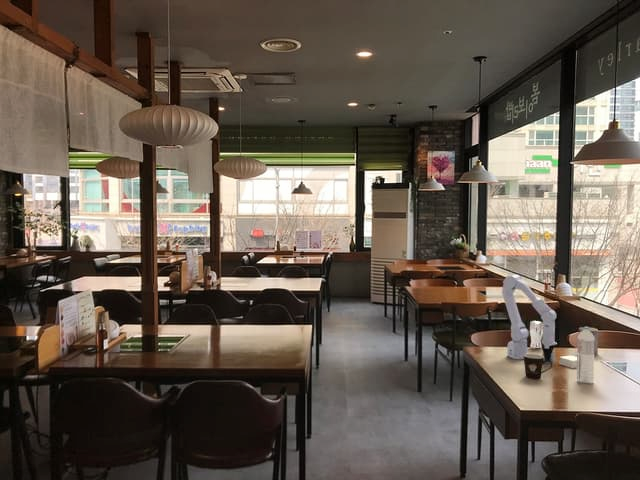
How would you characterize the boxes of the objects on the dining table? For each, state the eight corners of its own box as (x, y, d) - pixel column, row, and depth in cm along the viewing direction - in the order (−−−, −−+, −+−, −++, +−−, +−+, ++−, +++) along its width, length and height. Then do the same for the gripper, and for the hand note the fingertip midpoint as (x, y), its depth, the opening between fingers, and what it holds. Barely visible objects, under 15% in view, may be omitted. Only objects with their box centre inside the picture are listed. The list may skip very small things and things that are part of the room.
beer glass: (541, 346, 304) (542, 321, 304) (542, 349, 298) (543, 323, 297) (529, 345, 306) (529, 320, 306) (529, 348, 300) (530, 322, 299)
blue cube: (552, 364, 265) (552, 354, 265) (542, 362, 268) (542, 353, 267) (553, 362, 269) (554, 352, 269) (543, 360, 272) (543, 351, 272)
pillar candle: (578, 350, 296) (578, 324, 296) (597, 352, 292) (598, 325, 291) (578, 354, 288) (578, 327, 287) (598, 356, 283) (598, 328, 283)
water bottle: (592, 385, 230) (594, 329, 229) (575, 382, 233) (577, 327, 233) (594, 381, 235) (595, 326, 235) (577, 379, 239) (578, 325, 238)
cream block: (572, 368, 258) (572, 360, 258) (559, 364, 265) (559, 356, 265) (583, 367, 261) (584, 359, 261) (570, 363, 268) (571, 355, 268)
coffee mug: (519, 376, 241) (519, 355, 241) (529, 373, 247) (530, 353, 246) (543, 383, 232) (543, 360, 232) (553, 379, 237) (553, 358, 237)
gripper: (555, 336, 260) (554, 363, 260) (558, 332, 272) (558, 357, 273) (540, 335, 263) (539, 361, 264) (544, 330, 276) (543, 355, 276)
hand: (548, 359), depth 268 cm, fingers closed on blue cube, 5 cm apart
